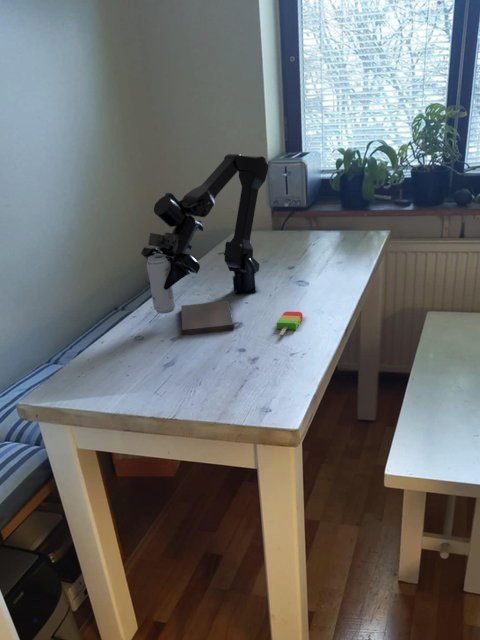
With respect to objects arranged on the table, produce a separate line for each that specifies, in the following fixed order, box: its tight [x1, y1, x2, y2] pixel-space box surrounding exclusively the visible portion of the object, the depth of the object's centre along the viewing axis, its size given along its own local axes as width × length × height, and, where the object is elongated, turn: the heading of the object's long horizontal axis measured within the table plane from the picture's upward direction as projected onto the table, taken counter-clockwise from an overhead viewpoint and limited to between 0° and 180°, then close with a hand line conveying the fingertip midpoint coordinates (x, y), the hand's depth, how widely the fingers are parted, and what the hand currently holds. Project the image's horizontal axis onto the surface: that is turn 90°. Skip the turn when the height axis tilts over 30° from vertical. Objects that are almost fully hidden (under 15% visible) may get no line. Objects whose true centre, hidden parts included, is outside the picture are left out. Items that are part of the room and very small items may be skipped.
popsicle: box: [275, 311, 303, 336], centre depth 164 cm, size 6×15×2 cm, turn 164°
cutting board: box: [180, 300, 235, 336], centre depth 173 cm, size 14×20×2 cm
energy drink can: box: [146, 254, 176, 314], centre depth 167 cm, size 6×6×15 cm
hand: (157, 287), depth 166 cm, fingers closed on energy drink can, 6 cm apart
